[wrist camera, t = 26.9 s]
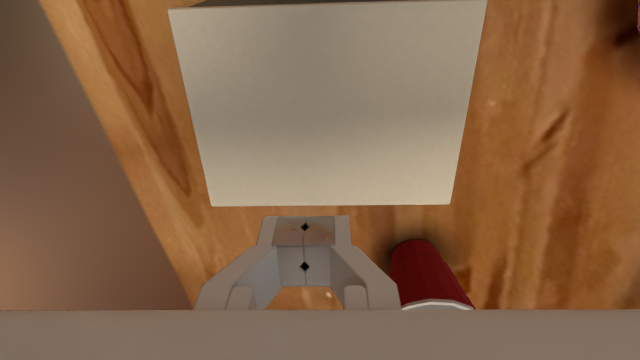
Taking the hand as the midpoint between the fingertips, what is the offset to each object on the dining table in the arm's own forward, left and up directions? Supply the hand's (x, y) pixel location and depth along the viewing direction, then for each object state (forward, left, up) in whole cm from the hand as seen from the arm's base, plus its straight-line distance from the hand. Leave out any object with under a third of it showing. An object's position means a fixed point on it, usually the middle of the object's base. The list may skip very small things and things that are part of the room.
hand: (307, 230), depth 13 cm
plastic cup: (+27, -2, -25) cm, 37 cm away
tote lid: (0, +1, -11) cm, 11 cm away
